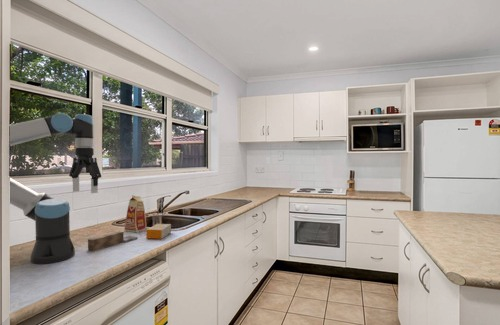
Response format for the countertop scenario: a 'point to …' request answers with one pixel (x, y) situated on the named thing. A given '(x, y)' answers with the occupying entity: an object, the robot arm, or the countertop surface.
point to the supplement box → (158, 231)
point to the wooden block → (108, 240)
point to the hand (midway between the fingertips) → (85, 192)
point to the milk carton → (135, 215)
